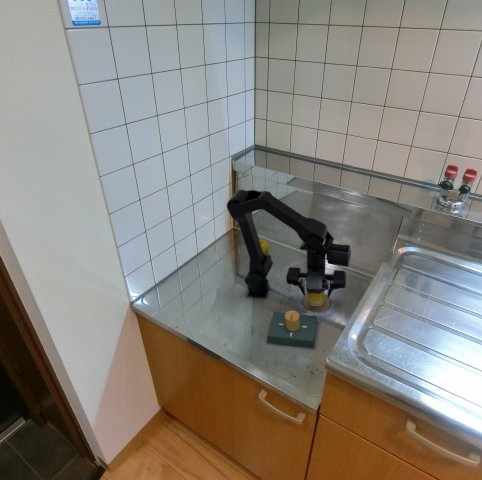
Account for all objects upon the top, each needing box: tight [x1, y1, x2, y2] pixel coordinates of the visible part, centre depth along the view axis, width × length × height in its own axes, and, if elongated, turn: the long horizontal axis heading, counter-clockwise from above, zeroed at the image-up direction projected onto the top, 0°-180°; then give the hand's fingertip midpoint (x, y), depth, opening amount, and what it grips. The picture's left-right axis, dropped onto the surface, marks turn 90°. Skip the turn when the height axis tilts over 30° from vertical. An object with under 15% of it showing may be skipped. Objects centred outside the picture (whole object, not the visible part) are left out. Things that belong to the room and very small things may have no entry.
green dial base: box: [267, 311, 318, 348], centre depth 116 cm, size 14×10×3 cm
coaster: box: [302, 293, 331, 313], centre depth 127 cm, size 9×9×1 cm
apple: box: [259, 238, 270, 255], centre depth 148 cm, size 6×6×8 cm
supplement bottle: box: [307, 291, 325, 306], centre depth 124 cm, size 5×5×10 cm
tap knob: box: [285, 309, 300, 331], centre depth 114 cm, size 4×4×5 cm
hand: (316, 295), depth 125 cm, fingers open, 7 cm apart
